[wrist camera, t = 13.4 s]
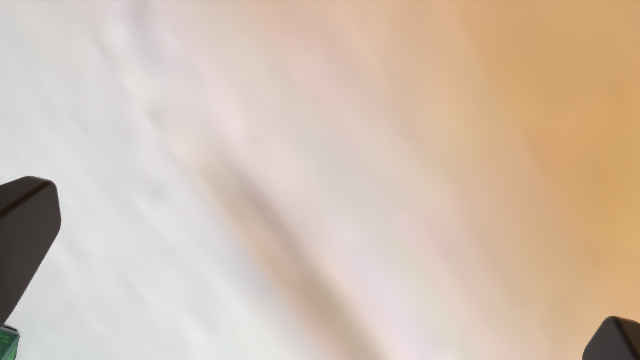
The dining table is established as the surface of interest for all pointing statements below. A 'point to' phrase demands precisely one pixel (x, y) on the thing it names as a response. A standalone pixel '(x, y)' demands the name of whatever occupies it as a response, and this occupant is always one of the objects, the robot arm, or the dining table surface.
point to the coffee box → (8, 343)
